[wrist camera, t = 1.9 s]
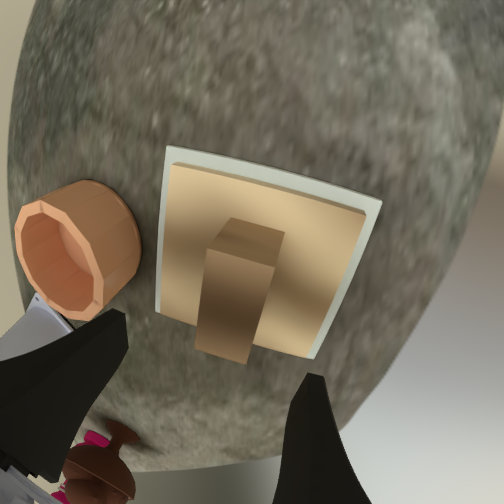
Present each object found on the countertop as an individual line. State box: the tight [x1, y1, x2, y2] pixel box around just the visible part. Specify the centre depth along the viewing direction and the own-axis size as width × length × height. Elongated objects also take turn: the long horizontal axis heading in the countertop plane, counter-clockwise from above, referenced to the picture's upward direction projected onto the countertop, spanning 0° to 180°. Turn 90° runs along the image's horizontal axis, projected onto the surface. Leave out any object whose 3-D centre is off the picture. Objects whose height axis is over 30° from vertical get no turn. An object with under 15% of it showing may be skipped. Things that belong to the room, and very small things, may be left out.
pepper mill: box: [51, 431, 110, 504], centre depth 31 cm, size 7×7×20 cm
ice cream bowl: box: [62, 420, 140, 504], centre depth 28 cm, size 11×11×15 cm
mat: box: [155, 145, 382, 359], centre depth 17 cm, size 12×12×1 cm
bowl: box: [15, 180, 142, 321], centre depth 17 cm, size 8×8×4 cm
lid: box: [160, 162, 366, 365], centre depth 15 cm, size 10×10×4 cm
